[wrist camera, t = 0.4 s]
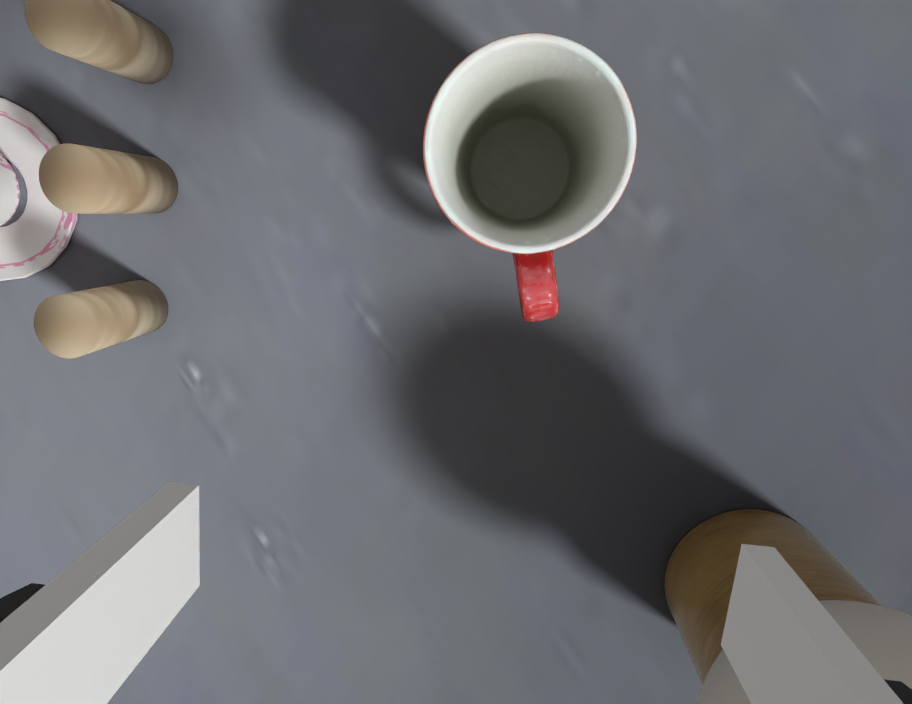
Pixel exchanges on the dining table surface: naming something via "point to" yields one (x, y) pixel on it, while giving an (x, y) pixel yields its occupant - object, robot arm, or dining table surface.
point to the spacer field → (102, 172)
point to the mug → (530, 152)
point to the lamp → (858, 614)
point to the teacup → (42, 224)
